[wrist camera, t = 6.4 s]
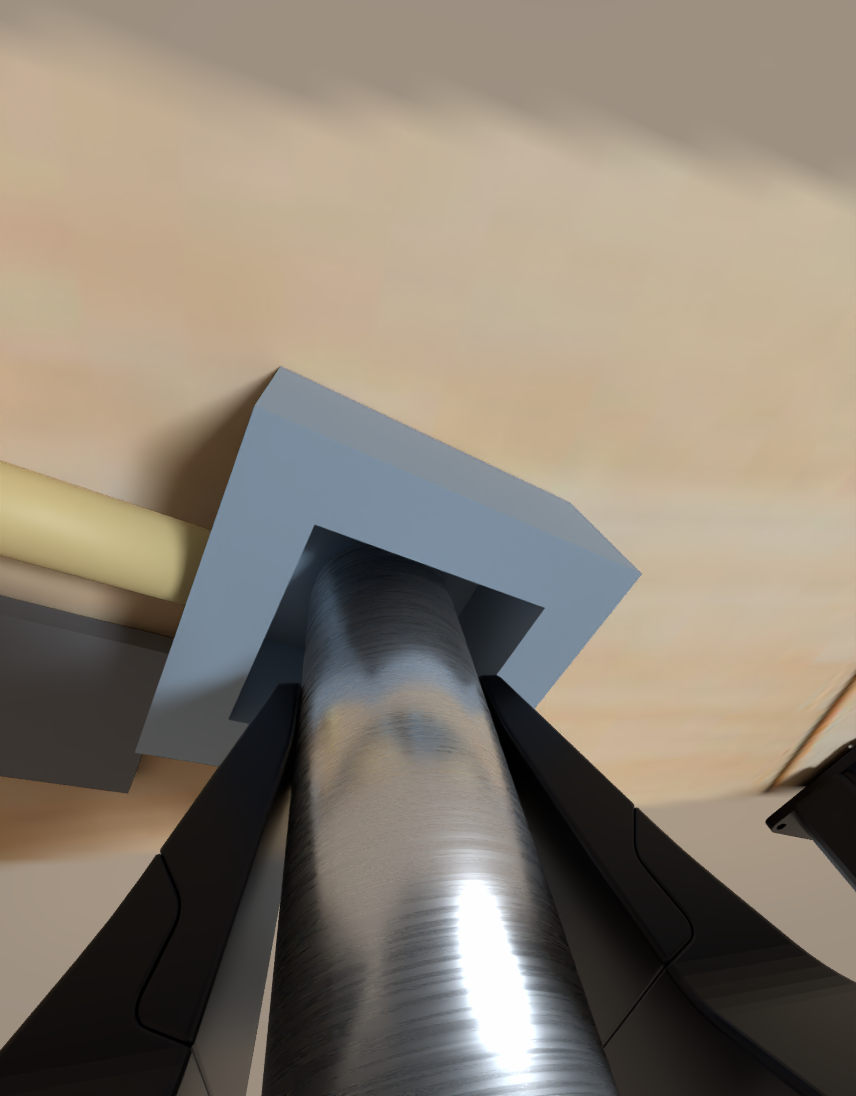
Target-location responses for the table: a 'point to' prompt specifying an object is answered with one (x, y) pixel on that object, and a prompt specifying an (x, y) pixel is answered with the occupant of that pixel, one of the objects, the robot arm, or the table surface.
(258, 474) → the blue-grey block with rod
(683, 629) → the table surface
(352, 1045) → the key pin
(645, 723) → the table surface
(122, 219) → the table surface
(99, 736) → the mat
